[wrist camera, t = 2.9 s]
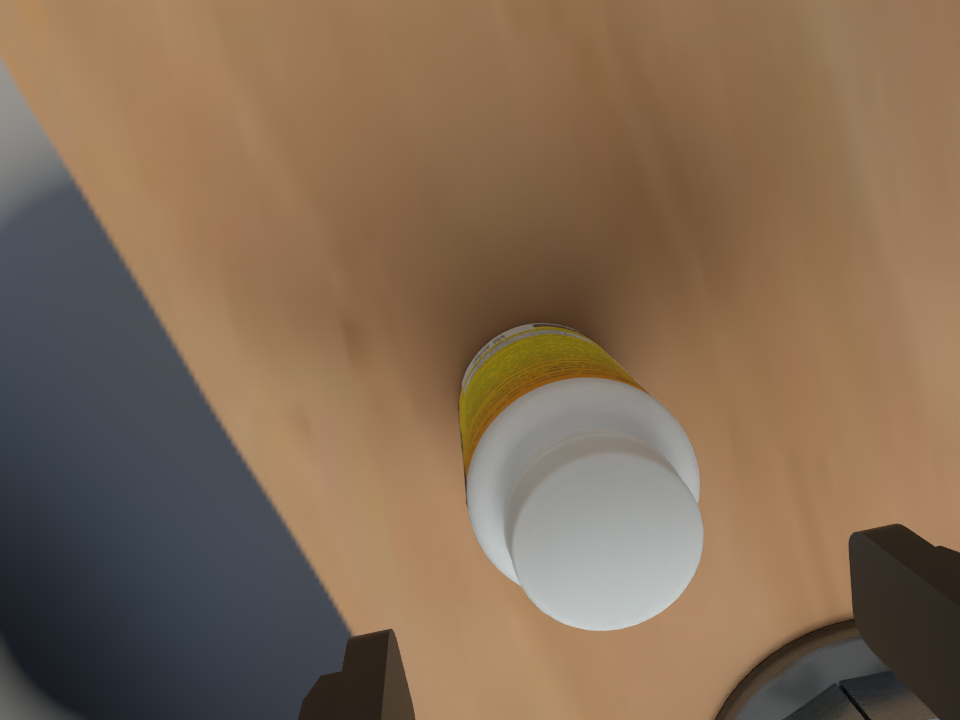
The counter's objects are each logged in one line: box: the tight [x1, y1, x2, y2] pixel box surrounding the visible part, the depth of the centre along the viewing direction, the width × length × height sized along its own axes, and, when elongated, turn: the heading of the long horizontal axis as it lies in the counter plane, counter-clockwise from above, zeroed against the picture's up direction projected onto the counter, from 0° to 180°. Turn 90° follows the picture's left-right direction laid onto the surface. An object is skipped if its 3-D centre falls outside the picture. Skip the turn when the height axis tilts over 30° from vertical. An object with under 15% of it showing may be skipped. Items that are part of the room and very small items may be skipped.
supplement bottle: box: [458, 323, 703, 631], centre depth 19 cm, size 6×6×10 cm
